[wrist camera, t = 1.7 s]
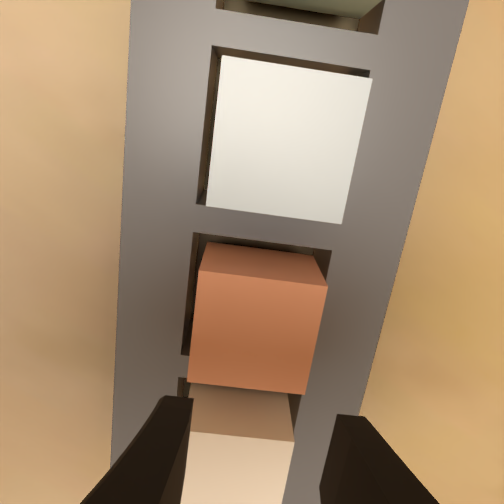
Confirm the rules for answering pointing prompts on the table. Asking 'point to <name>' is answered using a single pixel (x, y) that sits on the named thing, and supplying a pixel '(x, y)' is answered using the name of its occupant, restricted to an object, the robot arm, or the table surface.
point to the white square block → (285, 139)
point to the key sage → (328, 6)
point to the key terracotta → (255, 318)
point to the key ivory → (237, 446)
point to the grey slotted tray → (264, 225)
